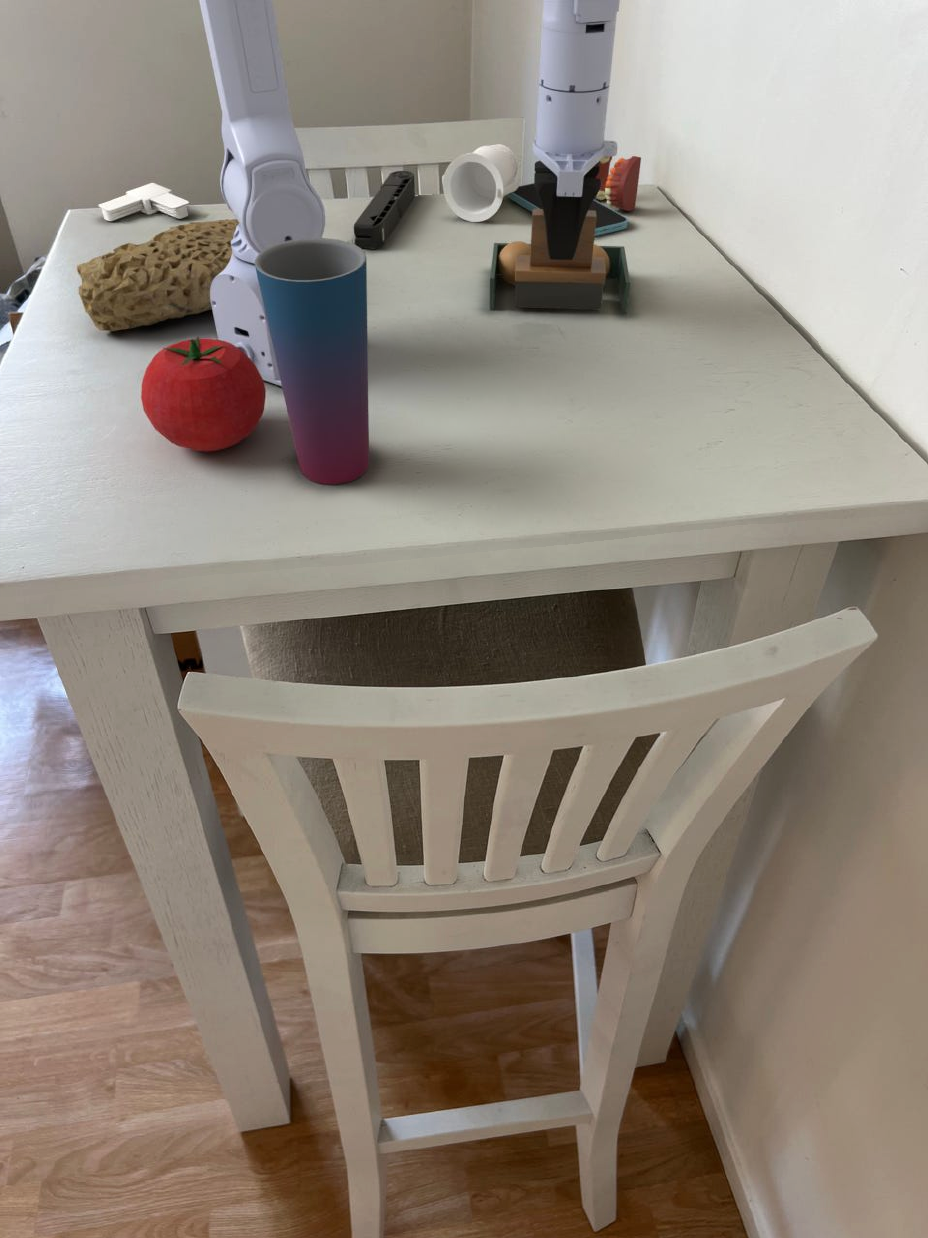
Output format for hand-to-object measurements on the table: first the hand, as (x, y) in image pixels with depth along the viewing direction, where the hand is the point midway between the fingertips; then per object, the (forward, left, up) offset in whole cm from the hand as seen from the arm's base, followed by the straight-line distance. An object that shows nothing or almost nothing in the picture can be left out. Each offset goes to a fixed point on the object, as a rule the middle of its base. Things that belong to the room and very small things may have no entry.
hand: (560, 253), depth 81 cm
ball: (+5, -1, -3) cm, 6 cm away
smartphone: (+19, +4, -5) cm, 20 cm away
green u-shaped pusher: (+4, +2, -5) cm, 7 cm away
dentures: (+29, +11, -2) cm, 31 cm away
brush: (0, 0, -4) cm, 4 cm away
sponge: (-17, +29, -5) cm, 35 cm away
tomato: (-34, +11, -5) cm, 37 cm away
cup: (-32, +1, -5) cm, 33 cm away
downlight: (+14, +18, -1) cm, 23 cm away
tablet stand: (+9, +28, -4) cm, 30 cm away
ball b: (+2, +6, -3) cm, 7 cm away
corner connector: (-4, +50, -3) cm, 51 cm away
